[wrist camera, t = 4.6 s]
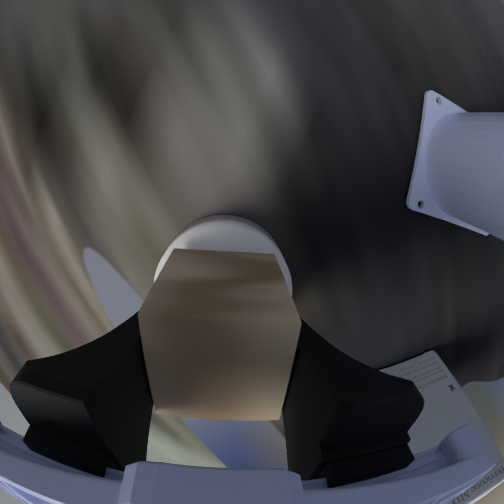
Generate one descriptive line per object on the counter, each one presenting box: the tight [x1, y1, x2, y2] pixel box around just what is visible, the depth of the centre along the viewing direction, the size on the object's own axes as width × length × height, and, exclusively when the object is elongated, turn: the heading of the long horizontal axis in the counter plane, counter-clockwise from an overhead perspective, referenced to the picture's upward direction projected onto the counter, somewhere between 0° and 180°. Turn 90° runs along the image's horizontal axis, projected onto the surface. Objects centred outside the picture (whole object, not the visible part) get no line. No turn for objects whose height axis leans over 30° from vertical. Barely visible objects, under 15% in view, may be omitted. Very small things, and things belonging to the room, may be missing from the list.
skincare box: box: [379, 350, 504, 504], centre depth 14 cm, size 8×6×15 cm
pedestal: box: [154, 215, 292, 296], centre depth 15 cm, size 7×7×2 cm
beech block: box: [138, 248, 302, 420], centre depth 11 cm, size 4×4×6 cm
